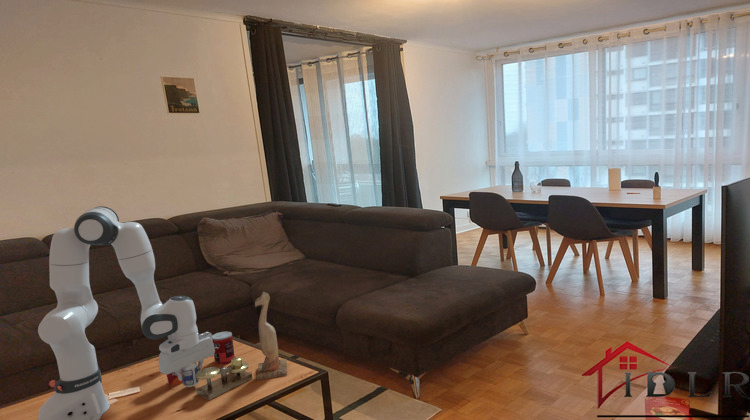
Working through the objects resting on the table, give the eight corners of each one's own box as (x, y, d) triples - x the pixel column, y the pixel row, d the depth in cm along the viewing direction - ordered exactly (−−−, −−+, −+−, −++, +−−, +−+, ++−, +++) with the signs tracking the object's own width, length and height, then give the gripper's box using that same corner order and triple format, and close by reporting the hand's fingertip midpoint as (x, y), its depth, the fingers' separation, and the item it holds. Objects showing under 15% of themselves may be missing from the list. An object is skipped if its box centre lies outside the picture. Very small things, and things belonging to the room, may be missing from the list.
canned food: (214, 358, 202) (211, 333, 200) (234, 354, 204) (231, 329, 203) (214, 366, 195) (211, 340, 193) (235, 362, 197) (231, 336, 195)
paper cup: (179, 387, 179) (174, 351, 177) (161, 386, 181) (155, 351, 179) (191, 377, 187) (186, 342, 185) (173, 376, 188) (168, 342, 186)
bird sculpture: (256, 369, 190) (244, 290, 185) (287, 362, 193) (275, 285, 188) (257, 382, 179) (244, 299, 174) (289, 374, 182) (277, 293, 177)
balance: (206, 401, 167) (203, 379, 166) (194, 395, 172) (191, 374, 171) (254, 377, 182) (252, 357, 181) (241, 372, 187) (239, 352, 186)
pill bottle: (193, 379, 182) (190, 354, 180) (202, 382, 179) (199, 357, 177) (180, 385, 177) (177, 360, 176) (189, 388, 174) (186, 363, 173)
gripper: (206, 328, 186) (210, 362, 187) (154, 347, 170) (159, 385, 172) (216, 331, 182) (220, 366, 183) (163, 351, 166) (168, 389, 168)
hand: (190, 375), depth 177 cm, fingers closed on pill bottle, 5 cm apart
